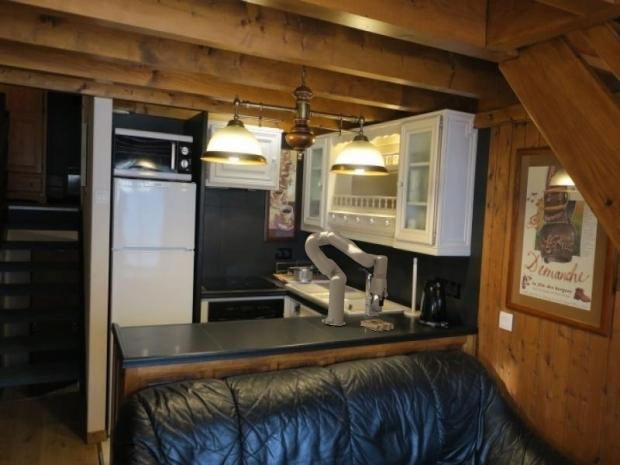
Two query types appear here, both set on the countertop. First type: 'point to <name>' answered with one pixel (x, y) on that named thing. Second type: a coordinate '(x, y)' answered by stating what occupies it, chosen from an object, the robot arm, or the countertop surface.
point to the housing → (377, 325)
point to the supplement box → (369, 307)
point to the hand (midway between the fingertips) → (377, 304)
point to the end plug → (376, 303)
